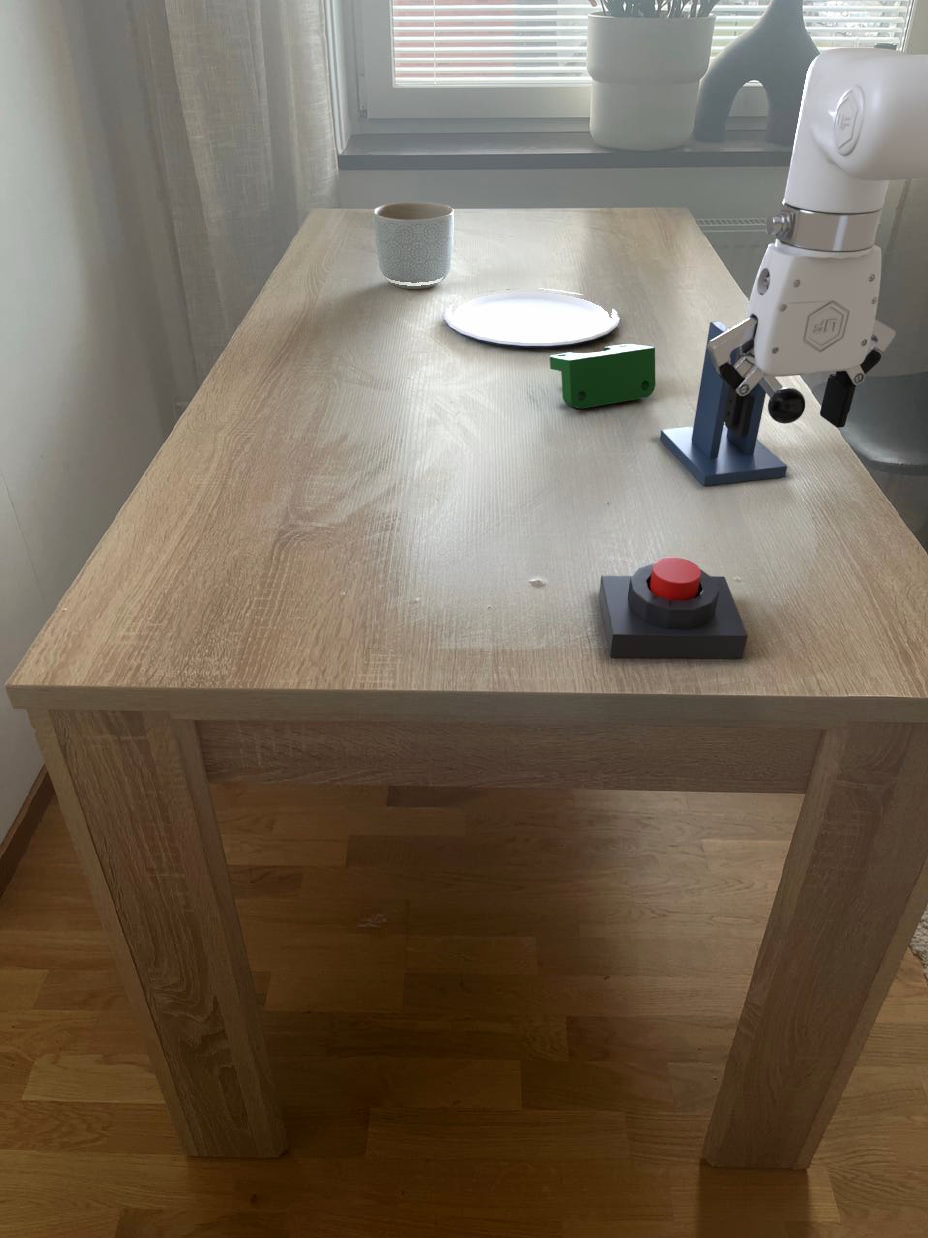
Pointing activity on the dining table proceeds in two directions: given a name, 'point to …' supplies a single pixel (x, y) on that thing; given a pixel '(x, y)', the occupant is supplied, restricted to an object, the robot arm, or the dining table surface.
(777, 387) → the lever
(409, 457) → the dining table surface
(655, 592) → the button
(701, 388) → the bracket
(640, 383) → the green mounting block
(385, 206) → the planter
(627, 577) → the button box
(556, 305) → the plate
